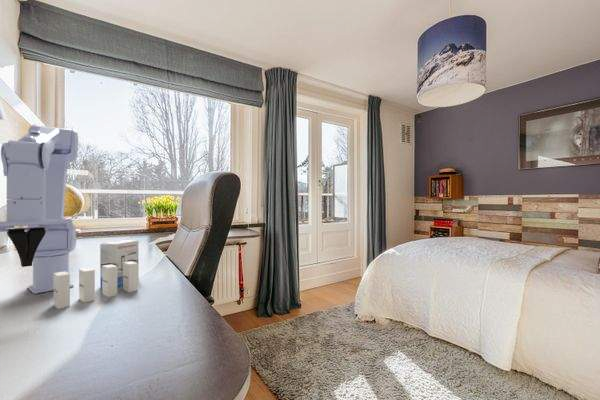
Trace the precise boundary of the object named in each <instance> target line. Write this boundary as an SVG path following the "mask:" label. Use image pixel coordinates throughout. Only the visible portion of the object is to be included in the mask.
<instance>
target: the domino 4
mask: <svg viewBox="0 0 600 400" xmlns="http://www.w3.org/2000/svg"><path fill="white" fill-rule="evenodd" d="M138 281H139V262H138V263H136V262H133V261H129V262H123V285H122V289H123V291H126V292H127V293H132V292H135V291H138V290H139V287H138V286H139V285H138V283H139V282H138Z"/></svg>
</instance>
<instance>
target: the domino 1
mask: <svg viewBox="0 0 600 400" xmlns="http://www.w3.org/2000/svg"><path fill="white" fill-rule="evenodd" d="M70 276H71V274H70V272H69V273H67V272H65V271H64V272H58V273H54V290H53V305H54V307H55V308H56V309H57V310H58V309H59V310H60V309H63V308H64V309H65V308H68V307H70V305H71V290H70V289H71V287H70V282H71V281H70V280H71V279H70Z"/></svg>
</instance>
